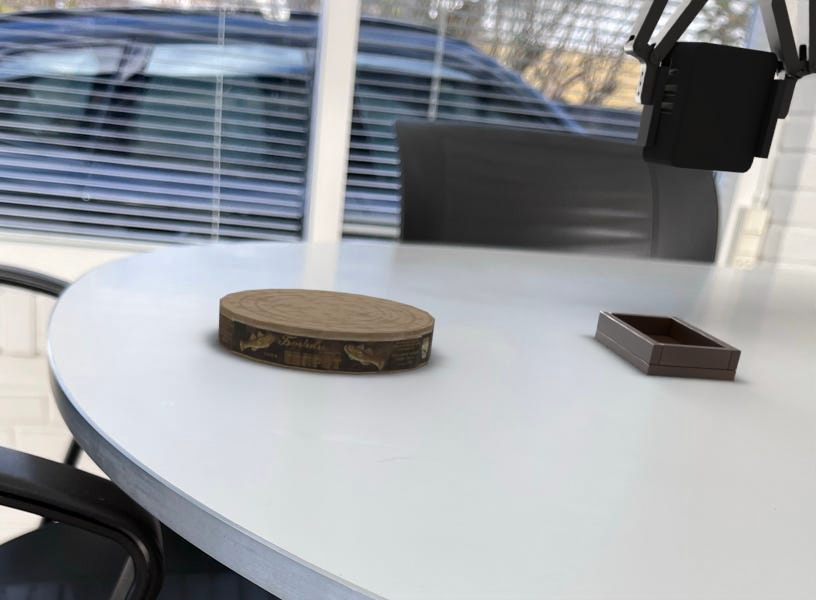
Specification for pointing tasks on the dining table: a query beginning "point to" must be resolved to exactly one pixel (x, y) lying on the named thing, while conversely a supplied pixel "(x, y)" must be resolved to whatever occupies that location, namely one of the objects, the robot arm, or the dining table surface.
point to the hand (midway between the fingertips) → (701, 151)
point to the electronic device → (712, 107)
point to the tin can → (325, 331)
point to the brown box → (667, 346)
